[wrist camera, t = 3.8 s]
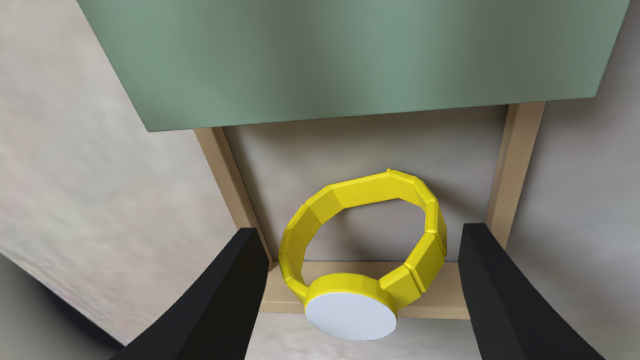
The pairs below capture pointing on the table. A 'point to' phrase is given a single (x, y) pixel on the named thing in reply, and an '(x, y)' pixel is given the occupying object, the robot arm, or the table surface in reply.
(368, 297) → the watch
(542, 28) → the step shelf
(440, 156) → the table surface
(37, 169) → the table surface
